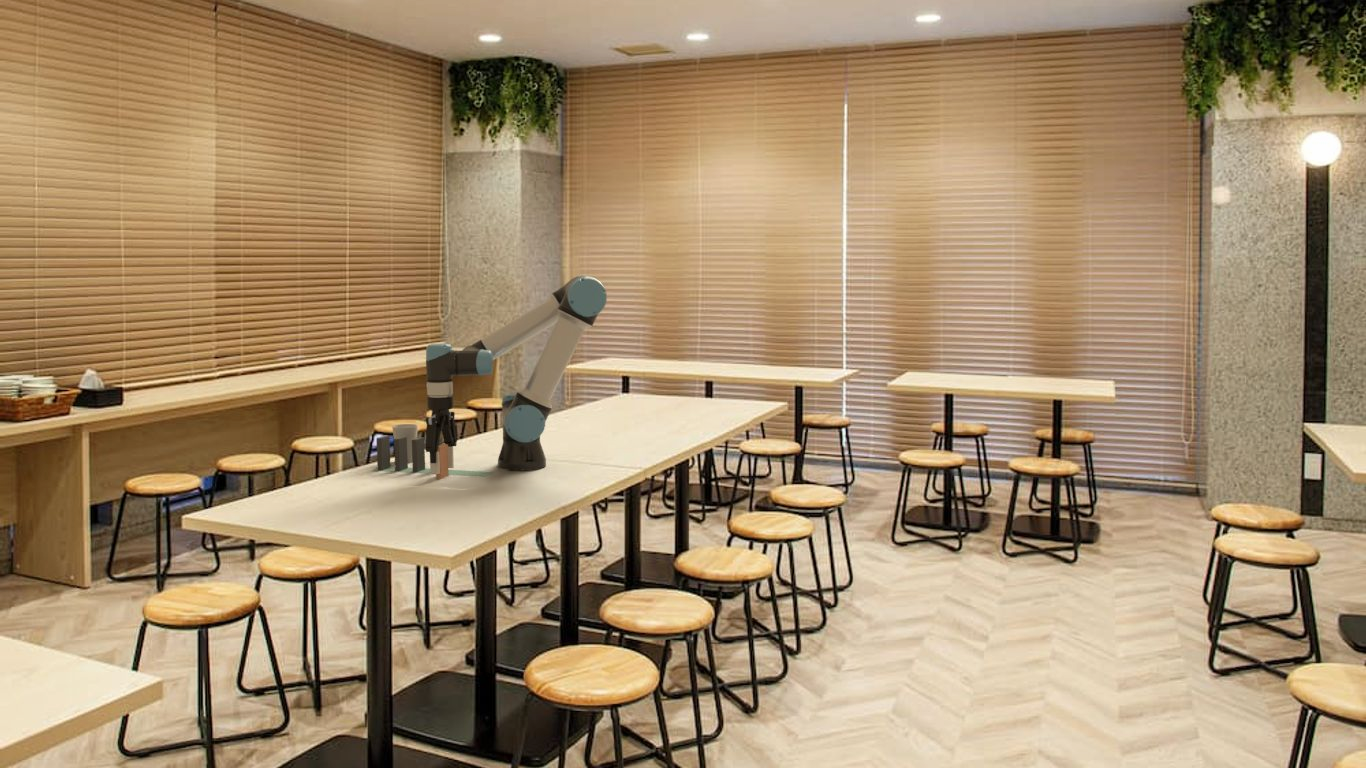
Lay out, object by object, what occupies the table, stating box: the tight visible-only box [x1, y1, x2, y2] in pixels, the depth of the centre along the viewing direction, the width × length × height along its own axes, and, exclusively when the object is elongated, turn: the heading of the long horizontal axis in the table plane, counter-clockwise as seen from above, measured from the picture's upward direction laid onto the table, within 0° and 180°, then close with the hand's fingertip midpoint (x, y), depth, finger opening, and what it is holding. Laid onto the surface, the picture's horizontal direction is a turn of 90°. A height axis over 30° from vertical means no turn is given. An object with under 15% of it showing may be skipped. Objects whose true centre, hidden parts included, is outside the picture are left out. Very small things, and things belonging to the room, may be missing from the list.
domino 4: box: [435, 443, 450, 480], centre depth 323 cm, size 2×5×10 cm, turn 165°
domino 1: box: [376, 435, 392, 470], centre depth 336 cm, size 2×5×10 cm, turn 165°
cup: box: [392, 423, 419, 464], centre depth 348 cm, size 8×8×12 cm
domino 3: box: [411, 436, 426, 472], centre depth 333 cm, size 2×5×10 cm, turn 166°
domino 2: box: [393, 437, 409, 471], centre depth 334 cm, size 2×5×10 cm, turn 165°
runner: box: [370, 466, 494, 478], centre depth 332 cm, size 38×7×1 cm, turn 76°
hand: (442, 470), depth 324 cm, fingers open, 8 cm apart
